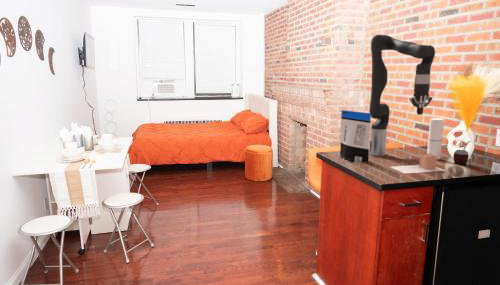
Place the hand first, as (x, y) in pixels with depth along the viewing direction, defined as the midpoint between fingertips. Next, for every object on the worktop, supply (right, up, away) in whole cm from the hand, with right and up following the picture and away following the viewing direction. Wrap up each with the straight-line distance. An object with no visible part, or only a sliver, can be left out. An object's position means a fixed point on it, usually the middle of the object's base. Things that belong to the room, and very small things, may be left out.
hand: (419, 114), depth 180 cm
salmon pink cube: (+1, -29, -6) cm, 30 cm away
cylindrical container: (+16, -27, +15) cm, 34 cm away
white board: (-5, -31, -7) cm, 32 cm away
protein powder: (-31, -27, +19) cm, 45 cm away
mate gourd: (+26, -28, +4) cm, 38 cm away
